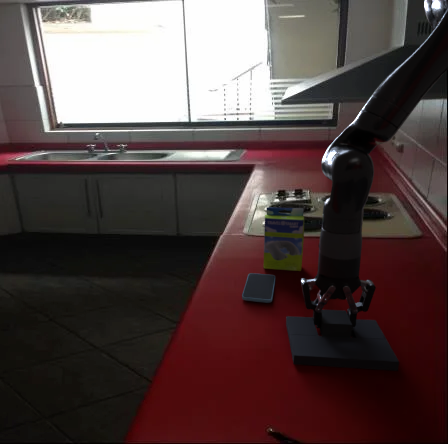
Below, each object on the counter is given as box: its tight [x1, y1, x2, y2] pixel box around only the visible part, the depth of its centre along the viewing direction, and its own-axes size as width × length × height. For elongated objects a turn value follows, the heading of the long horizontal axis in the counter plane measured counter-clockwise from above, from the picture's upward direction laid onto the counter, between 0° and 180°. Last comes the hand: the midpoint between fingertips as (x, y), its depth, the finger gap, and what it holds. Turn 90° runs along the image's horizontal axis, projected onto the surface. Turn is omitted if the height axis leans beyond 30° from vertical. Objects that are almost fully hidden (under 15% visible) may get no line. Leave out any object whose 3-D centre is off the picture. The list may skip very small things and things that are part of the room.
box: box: [262, 206, 305, 272], centre depth 116 cm, size 10×4×17 cm, turn 73°
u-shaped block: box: [285, 315, 400, 372], centre depth 83 cm, size 18×14×2 cm
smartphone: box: [241, 272, 276, 304], centre depth 107 cm, size 7×1×15 cm
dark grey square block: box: [318, 309, 352, 338], centre depth 85 cm, size 6×6×3 cm
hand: (333, 326), depth 86 cm, fingers closed on dark grey square block, 5 cm apart
